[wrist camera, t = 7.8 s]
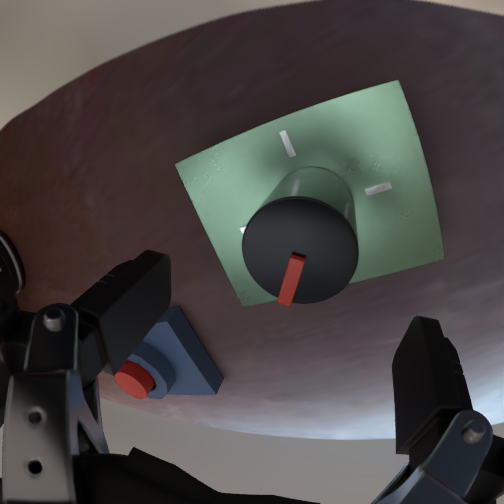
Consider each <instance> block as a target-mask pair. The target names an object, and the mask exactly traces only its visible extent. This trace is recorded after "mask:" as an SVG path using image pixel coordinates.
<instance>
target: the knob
mask: <svg viewBox="0 0 504 504" xmlns="http://www.w3.org/2000/svg"><path fill="white" fill-rule="evenodd" d="M242 254H243V259H244V263H245V265H246V268H247V270H248V272H249V273H250V275H251V277H252V278H253V279H254V281H255V282H256V283H257V284H258V285H259V286H260V287H261V288H262V289H264V290H265V291H266V292H268V293H269V294H271V295H273V296H275V297H277V298H278V300H277V303H280V304H283V305H286V306H291V303H300V304H308V303H316V302H320V301H323V300H326V299H328V298H331V297H333V296H334V295H336V294H337V293H339V292H340V291H341V290H342V289H344V288H345V286H346V285H347V284H348V283H349V282H350V280H351V279H352V277H353V275H354V273H355V271H356V268H357V265H358V260H359V245H358V233H357V223H356V213H355V204H354V199H353V196H352V193H351V191H350V189H349V188H348V186H347V185H346V183H345V182H344V181H343V180H342V179H341V178H340V177H339V176H337V175H336V174H334V173H332V172H331V171H328V170H326V169H322V168H317V167H306V168H301V169H297V170H295V171H293V172H291V173H289V174H288V175H286V176H285V177H284V178H283V179H282V180H281V181H280V182H279V184H278V185H277V186H276V187H275V188H274V190H273V191H272V192H271V193H270V195H269V196H268V197H267V198H266V200H265V201H264V202H263V203H262V205H261V206H260V207H259V208H258V210H257V211H256V212H255V213H254V215H253V216H252V217H251V219H250V220H249V222H248V223H247V225H246V228H245V230H244V234H243V238H242Z"/></svg>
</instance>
